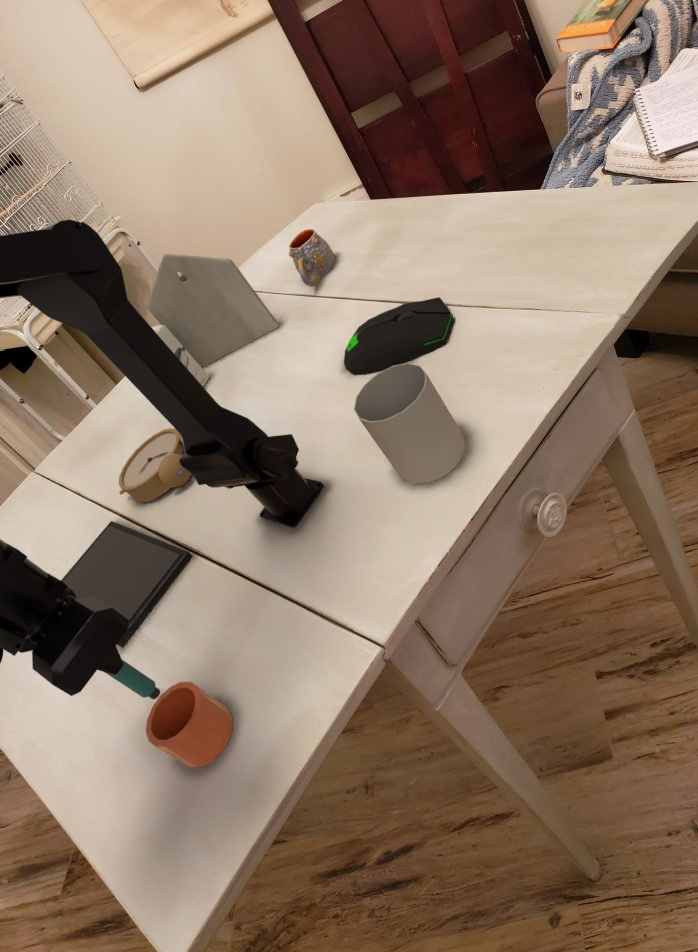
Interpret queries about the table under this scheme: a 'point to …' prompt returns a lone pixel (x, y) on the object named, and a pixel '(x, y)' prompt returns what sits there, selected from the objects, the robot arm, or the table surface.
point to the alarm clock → (154, 467)
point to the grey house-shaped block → (207, 306)
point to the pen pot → (189, 725)
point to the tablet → (126, 572)
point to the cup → (410, 423)
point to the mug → (311, 256)
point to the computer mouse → (398, 336)
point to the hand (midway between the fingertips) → (113, 665)
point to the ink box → (181, 353)
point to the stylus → (136, 681)
